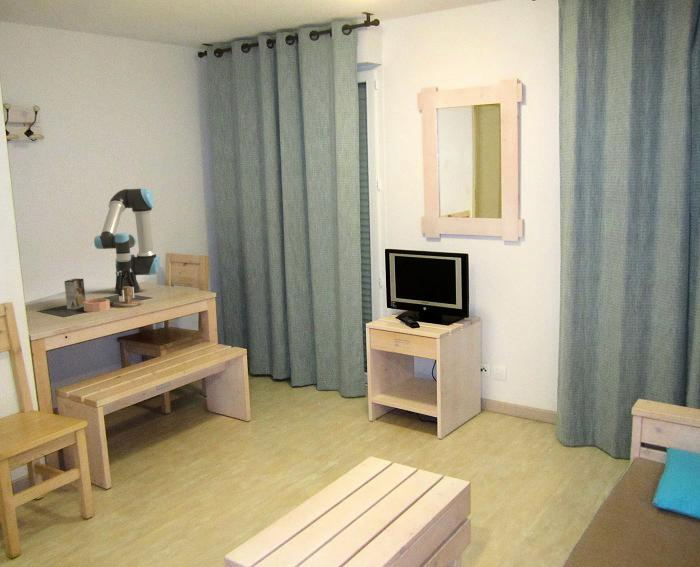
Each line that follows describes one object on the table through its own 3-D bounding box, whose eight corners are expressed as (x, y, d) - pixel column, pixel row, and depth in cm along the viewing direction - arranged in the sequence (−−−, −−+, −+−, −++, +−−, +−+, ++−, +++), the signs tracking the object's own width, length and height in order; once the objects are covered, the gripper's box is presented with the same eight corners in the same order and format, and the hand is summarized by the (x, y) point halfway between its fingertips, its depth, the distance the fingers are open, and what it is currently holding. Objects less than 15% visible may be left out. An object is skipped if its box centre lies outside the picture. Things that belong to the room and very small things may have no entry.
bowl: (93, 307, 388) (93, 298, 387) (114, 307, 385) (114, 299, 384) (79, 312, 375) (78, 303, 374) (100, 312, 372) (99, 303, 371)
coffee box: (76, 306, 393) (73, 278, 390) (86, 306, 392) (83, 278, 389) (66, 309, 384) (64, 281, 381) (77, 309, 383) (74, 281, 380)
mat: (123, 302, 399) (123, 302, 399) (144, 303, 396) (144, 302, 396) (109, 307, 386) (109, 306, 386) (131, 308, 382) (131, 307, 382)
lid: (122, 301, 400) (121, 284, 399) (147, 302, 396) (146, 284, 395) (106, 307, 385) (105, 289, 383) (132, 307, 381) (130, 289, 379)
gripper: (128, 258, 398) (131, 296, 402) (106, 263, 377) (109, 303, 381) (140, 258, 396) (143, 296, 400) (118, 263, 375) (121, 303, 379)
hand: (126, 299), depth 390 cm, fingers open, 9 cm apart
